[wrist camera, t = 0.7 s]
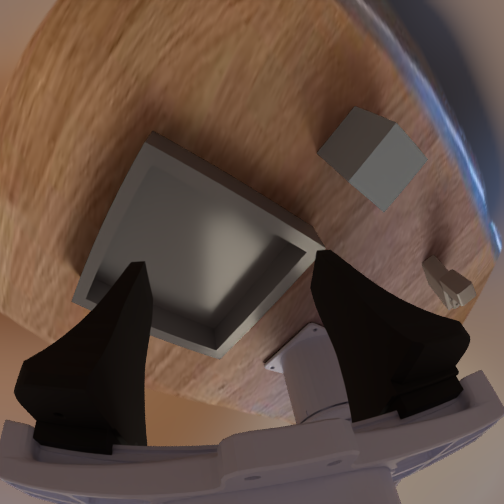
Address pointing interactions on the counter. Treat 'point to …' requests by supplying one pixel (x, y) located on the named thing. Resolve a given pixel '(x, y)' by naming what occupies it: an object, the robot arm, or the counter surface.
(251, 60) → the counter surface
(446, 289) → the lighter
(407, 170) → the tall grey cuboid
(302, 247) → the dark grey square tray
